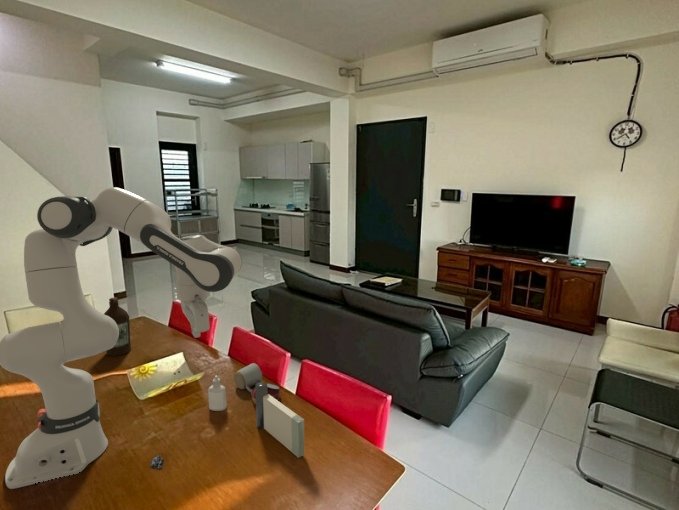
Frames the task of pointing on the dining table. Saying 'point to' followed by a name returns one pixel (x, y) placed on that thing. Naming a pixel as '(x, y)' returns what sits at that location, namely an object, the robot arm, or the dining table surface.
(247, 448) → the dining table surface
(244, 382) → the ceramic mug
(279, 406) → the cream flat block
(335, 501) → the dining table surface
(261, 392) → the hinge post
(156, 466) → the blueberries
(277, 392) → the canned food
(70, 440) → the robot arm
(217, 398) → the eye dropper bottle
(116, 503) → the dining table surface
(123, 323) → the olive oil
